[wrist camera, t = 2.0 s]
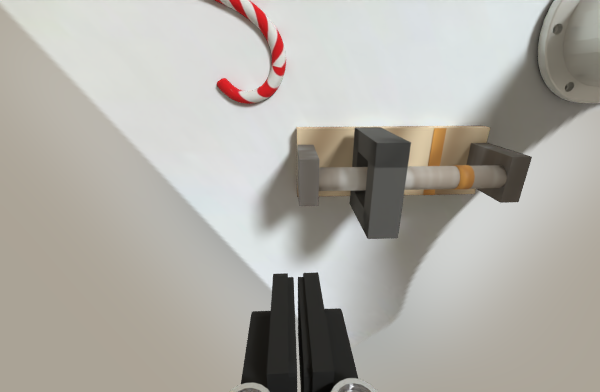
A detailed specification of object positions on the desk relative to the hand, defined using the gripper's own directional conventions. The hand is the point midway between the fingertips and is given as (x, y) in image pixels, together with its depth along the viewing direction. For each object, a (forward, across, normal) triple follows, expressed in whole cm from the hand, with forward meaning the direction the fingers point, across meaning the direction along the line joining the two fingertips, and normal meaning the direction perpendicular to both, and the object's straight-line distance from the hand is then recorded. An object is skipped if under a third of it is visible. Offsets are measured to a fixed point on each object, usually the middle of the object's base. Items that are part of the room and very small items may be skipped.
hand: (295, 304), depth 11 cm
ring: (+18, -7, 0) cm, 20 cm away
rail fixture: (+21, -10, 0) cm, 23 cm away
